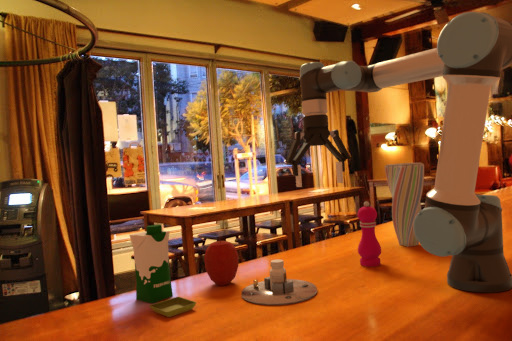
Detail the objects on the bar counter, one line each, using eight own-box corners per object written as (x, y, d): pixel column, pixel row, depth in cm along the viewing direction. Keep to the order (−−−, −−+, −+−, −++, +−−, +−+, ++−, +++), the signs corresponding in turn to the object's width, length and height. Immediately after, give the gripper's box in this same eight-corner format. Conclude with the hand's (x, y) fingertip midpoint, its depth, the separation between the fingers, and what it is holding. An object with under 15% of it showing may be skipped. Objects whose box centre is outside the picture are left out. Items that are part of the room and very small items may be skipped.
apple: (246, 284, 131) (243, 236, 130) (214, 291, 126) (211, 241, 125) (231, 277, 140) (227, 232, 139) (200, 283, 135) (197, 237, 134)
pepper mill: (383, 266, 139) (379, 202, 138) (359, 267, 140) (354, 203, 140) (381, 261, 146) (377, 199, 145) (358, 261, 147) (354, 200, 147)
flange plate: (329, 297, 113) (328, 283, 113) (252, 310, 108) (251, 295, 108) (300, 278, 133) (300, 266, 133) (234, 288, 127) (233, 275, 127)
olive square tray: (149, 313, 112) (148, 305, 112) (179, 303, 118) (178, 296, 118) (167, 321, 106) (166, 312, 106) (197, 310, 112) (197, 302, 112)
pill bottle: (289, 290, 119) (287, 261, 119) (273, 293, 118) (271, 263, 117) (284, 286, 123) (282, 258, 123) (268, 288, 122) (266, 260, 122)
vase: (436, 245, 163) (431, 162, 162) (406, 250, 158) (401, 164, 157) (410, 239, 176) (406, 162, 175) (382, 244, 171) (377, 165, 170)
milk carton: (151, 305, 117) (145, 228, 117) (131, 300, 123) (125, 227, 122) (177, 295, 124) (172, 223, 123) (156, 291, 130) (151, 222, 129)
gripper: (346, 114, 144) (351, 180, 145) (272, 118, 137) (277, 187, 138) (358, 111, 137) (362, 181, 138) (280, 115, 130) (285, 189, 131)
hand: (320, 184), depth 138 cm, fingers open, 13 cm apart
